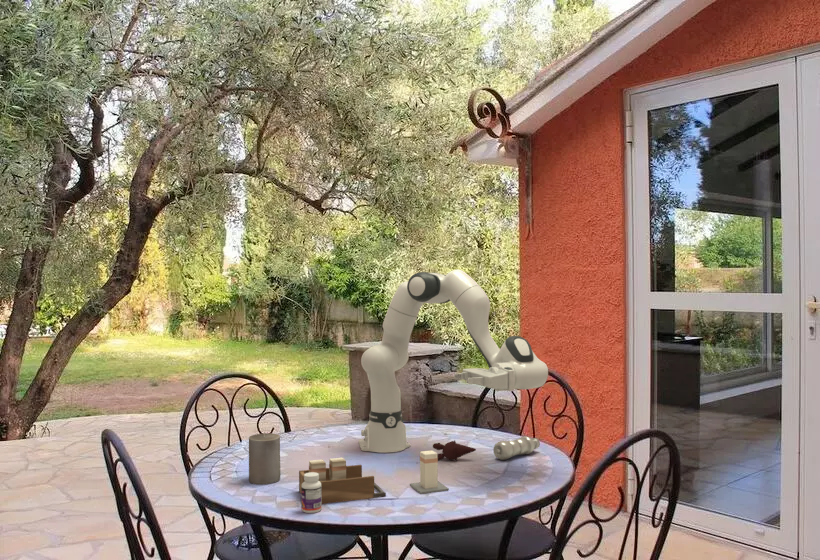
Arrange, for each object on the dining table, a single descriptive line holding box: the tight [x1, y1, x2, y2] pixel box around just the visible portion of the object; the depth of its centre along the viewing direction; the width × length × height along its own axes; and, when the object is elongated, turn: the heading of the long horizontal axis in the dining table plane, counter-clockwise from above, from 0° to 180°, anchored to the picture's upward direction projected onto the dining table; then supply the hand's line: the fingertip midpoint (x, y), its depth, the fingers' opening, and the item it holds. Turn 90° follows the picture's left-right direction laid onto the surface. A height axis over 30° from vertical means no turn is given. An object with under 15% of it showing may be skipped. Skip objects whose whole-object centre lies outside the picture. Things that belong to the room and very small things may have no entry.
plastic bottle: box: [493, 435, 541, 461], centre depth 239 cm, size 6×7×20 cm
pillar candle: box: [248, 432, 281, 486], centre depth 212 cm, size 10×10×15 cm
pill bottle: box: [300, 472, 323, 514], centre depth 183 cm, size 5×5×10 cm
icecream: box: [432, 439, 477, 462], centre depth 235 cm, size 7×7×15 cm
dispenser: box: [298, 457, 387, 505], centre depth 198 cm, size 14×22×10 cm, turn 110°
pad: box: [409, 480, 450, 495], centre depth 203 cm, size 9×9×1 cm
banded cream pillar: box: [419, 449, 439, 489], centre depth 203 cm, size 4×4×10 cm
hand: (461, 378), depth 210 cm, fingers open, 8 cm apart
